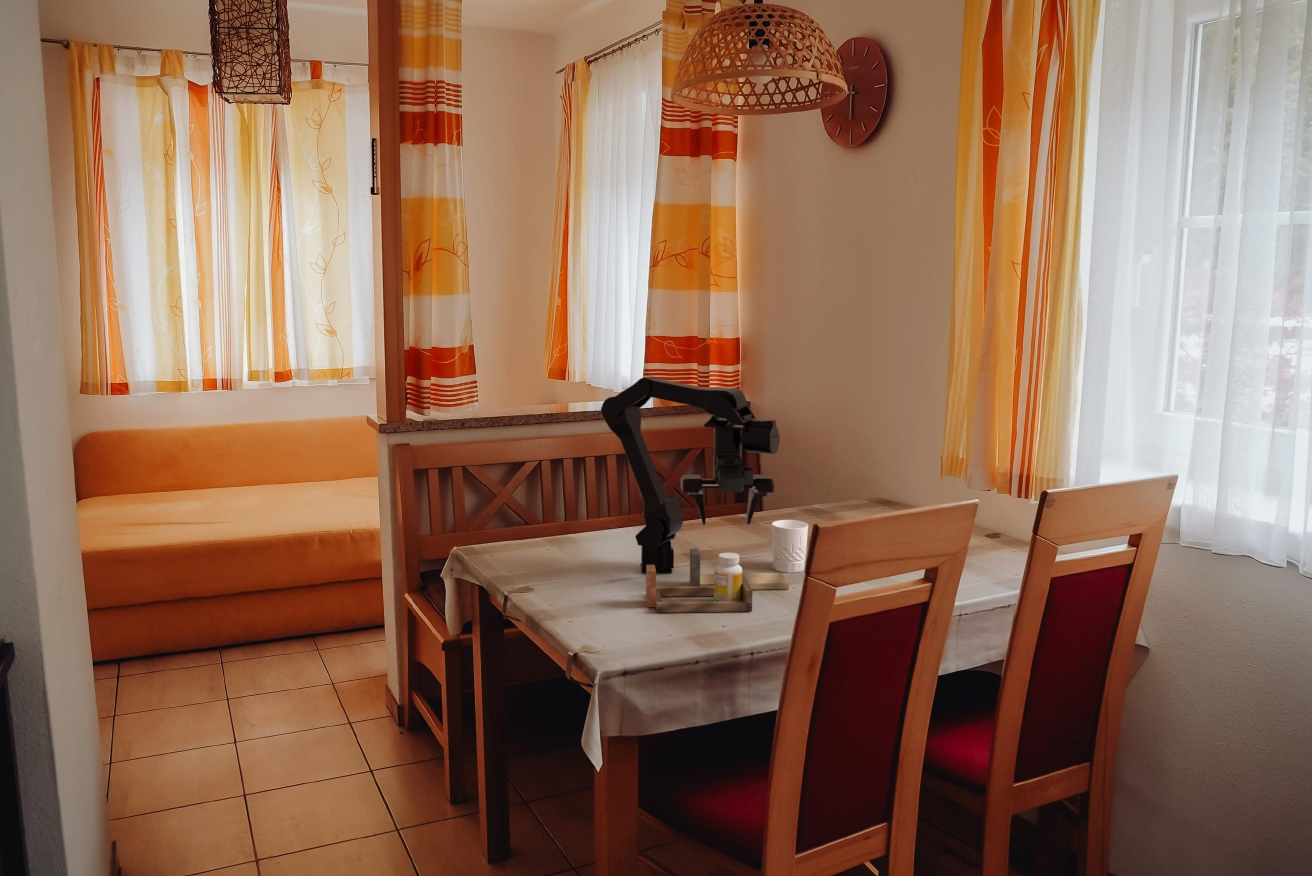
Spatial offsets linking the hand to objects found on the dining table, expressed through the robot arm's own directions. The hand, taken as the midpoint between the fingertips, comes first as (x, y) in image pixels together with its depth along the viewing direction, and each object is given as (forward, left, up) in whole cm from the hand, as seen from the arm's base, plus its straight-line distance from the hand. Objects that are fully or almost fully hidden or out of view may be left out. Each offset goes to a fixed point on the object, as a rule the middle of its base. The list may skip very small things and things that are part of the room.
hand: (726, 524), depth 203 cm
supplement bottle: (-1, -15, -12) cm, 19 cm away
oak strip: (+3, -3, -12) cm, 13 cm away
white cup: (+15, +8, -12) cm, 21 cm away
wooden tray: (-7, -15, -12) cm, 20 cm away
